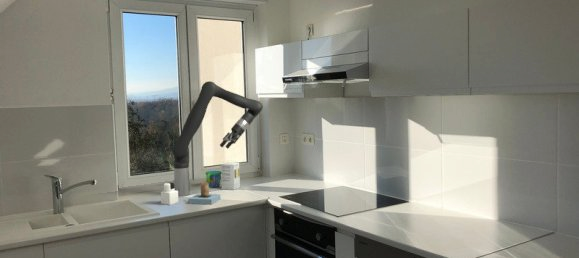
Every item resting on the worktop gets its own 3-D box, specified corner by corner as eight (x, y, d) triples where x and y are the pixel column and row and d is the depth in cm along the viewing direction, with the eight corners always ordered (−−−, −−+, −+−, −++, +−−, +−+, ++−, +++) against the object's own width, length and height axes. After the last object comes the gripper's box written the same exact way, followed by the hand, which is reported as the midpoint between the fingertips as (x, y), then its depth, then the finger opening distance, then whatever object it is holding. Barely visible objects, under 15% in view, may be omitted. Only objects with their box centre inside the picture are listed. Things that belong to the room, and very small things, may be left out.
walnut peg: (200, 202, 288) (199, 183, 287) (203, 200, 292) (202, 182, 291) (207, 202, 287) (206, 183, 286) (210, 200, 291) (209, 182, 290)
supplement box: (234, 190, 321) (233, 164, 319) (221, 189, 323) (220, 164, 322) (240, 187, 330) (239, 162, 328) (227, 186, 333) (226, 162, 331)
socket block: (188, 203, 284) (188, 198, 284) (198, 198, 298) (198, 193, 297) (211, 204, 281) (211, 199, 281) (220, 199, 294) (220, 194, 294)
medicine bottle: (169, 201, 292) (168, 181, 291) (178, 202, 288) (177, 182, 287) (160, 203, 286) (160, 183, 285) (169, 205, 282) (169, 184, 281)
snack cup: (214, 183, 344) (214, 169, 343) (227, 185, 339) (226, 170, 338) (200, 188, 330) (200, 173, 330) (213, 189, 325) (212, 174, 325)
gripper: (231, 122, 309) (214, 142, 304) (241, 123, 297) (224, 144, 292) (239, 130, 312) (223, 149, 307) (249, 132, 300) (232, 152, 295)
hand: (223, 147), depth 300 cm, fingers open, 8 cm apart
